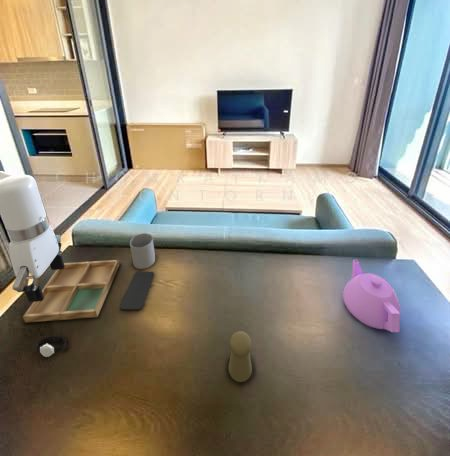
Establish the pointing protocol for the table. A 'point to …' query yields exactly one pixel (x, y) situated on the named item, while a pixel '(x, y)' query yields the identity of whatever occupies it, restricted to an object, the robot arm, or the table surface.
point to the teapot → (372, 300)
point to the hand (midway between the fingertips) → (48, 283)
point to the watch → (48, 349)
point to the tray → (74, 292)
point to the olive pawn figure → (240, 357)
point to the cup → (142, 250)
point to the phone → (137, 291)
